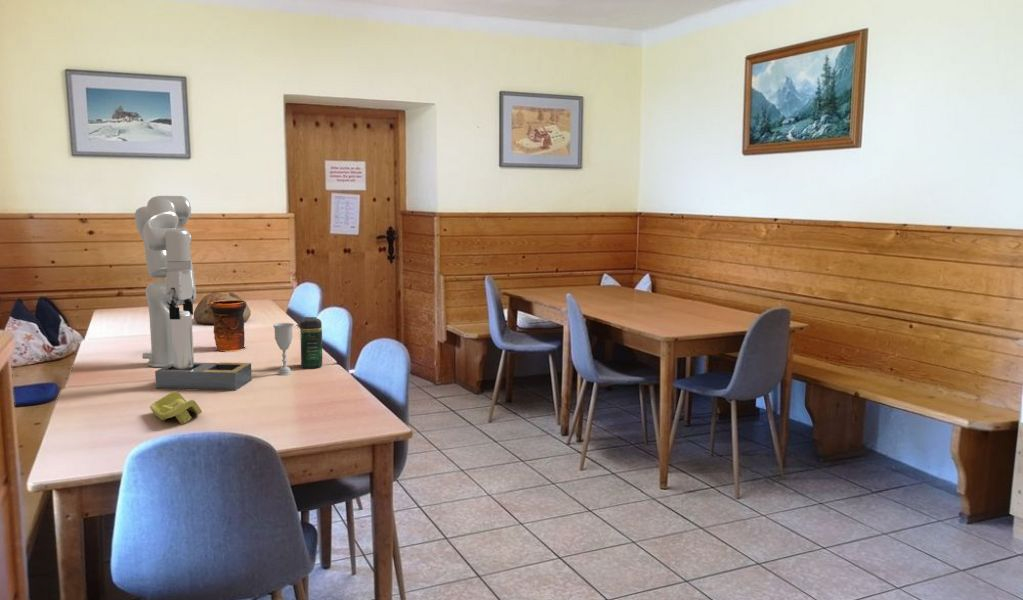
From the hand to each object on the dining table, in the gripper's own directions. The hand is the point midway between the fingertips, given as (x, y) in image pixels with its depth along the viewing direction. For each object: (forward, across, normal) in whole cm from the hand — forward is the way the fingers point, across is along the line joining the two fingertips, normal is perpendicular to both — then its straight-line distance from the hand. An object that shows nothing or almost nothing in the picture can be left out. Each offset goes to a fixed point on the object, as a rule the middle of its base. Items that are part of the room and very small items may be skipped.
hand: (181, 317), depth 264 cm
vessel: (+22, -62, -10) cm, 66 cm away
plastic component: (+24, +39, +16) cm, 48 cm away
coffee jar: (+23, -32, +34) cm, 52 cm away
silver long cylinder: (+23, -1, 0) cm, 23 cm away
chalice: (+23, -19, +28) cm, 41 cm away
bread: (+21, -128, -41) cm, 136 cm away
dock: (+23, -1, +6) cm, 24 cm away
